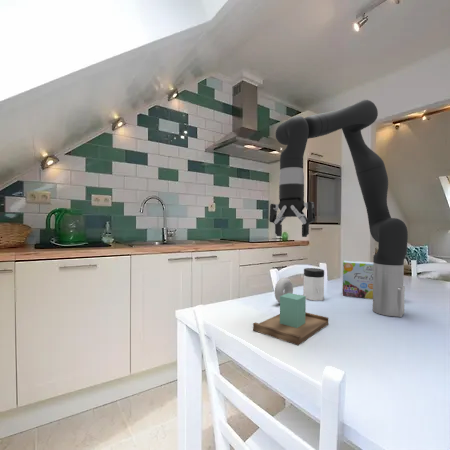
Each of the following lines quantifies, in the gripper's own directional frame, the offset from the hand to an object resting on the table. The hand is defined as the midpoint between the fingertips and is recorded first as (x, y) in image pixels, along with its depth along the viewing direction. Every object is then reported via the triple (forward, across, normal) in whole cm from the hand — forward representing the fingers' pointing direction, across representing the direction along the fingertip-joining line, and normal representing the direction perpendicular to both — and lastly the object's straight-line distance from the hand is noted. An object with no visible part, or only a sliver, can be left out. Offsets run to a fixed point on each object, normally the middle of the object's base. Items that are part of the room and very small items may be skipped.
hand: (291, 236), depth 84 cm
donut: (+27, +12, -17) cm, 34 cm away
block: (+26, -2, +3) cm, 26 cm away
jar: (+27, +6, -33) cm, 43 cm away
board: (+27, -2, +3) cm, 27 cm away
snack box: (+28, -11, -51) cm, 59 cm away
